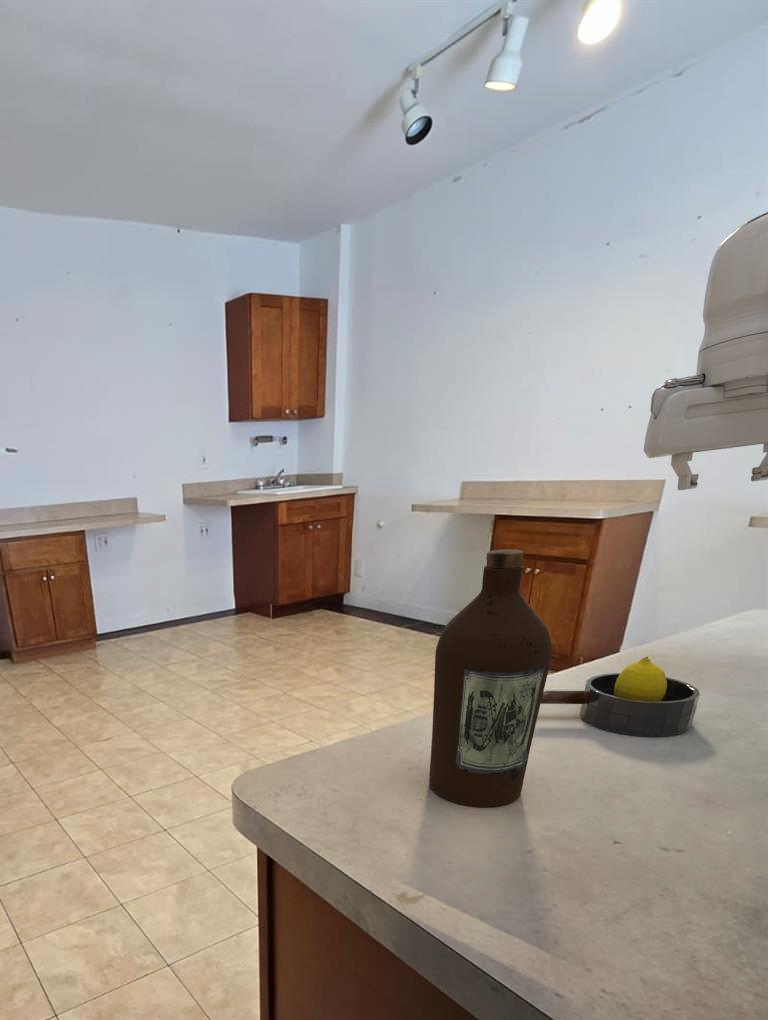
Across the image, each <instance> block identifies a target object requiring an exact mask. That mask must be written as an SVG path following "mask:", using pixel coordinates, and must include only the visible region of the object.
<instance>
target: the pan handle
mask: <svg viewBox="0 0 768 1020" xmlns="http://www.w3.org/2000/svg"><path fill="white" fill-rule="evenodd" d="M587 701H588V692H587V691H584V690H551V689H550V690H548V689H547V690H546V689H544V691H543V696H542V700H541V704H540V705H582V704H586V703H587Z"/></svg>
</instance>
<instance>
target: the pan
mask: <svg viewBox="0 0 768 1020" xmlns="http://www.w3.org/2000/svg"><path fill="white" fill-rule="evenodd" d="M620 673H621V672H611V673H602V674H598V675H595V676H591V677H590V678H588V679H586V681H585V686H584V690H583V691H587V692H588V701H587V703H586V704H580V705H581V706H580V712H579V716H580V718H581V719H582V720H583V721H584V722H585V723H587V724H589V725H590V726H593V727H595V728H598V729H599V730H603V731H607V732H610V733H614V734H620V735H627V736H631V737H632V736H634V737H644V738H664V737H665V738H666V737H674V736H679V735H682V734H685V733H686V732H688V731H689V730H690V729H691V726H692V724H693V721H694V718H695V713H696V710H697V708H698V703H699V700H700V697H701V693H700V690H699V688H697V687H696V686H694V685H692V684H691V683H688V682H686V681H682V680H679V679H675V678H671V677H667V676H666V681H667V688H666V693H665V695H664V697H663V699H662V700H661V701H642V700H632V699H626V698H621V697H616V696H615V695H614V686H615V683H616V681H617V678H618V677H619V675H620Z"/></svg>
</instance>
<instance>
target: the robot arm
mask: <svg viewBox="0 0 768 1020" xmlns="http://www.w3.org/2000/svg"><path fill="white" fill-rule="evenodd" d="M709 268H710V269H709V271H708V277H707V280H706V281H707V282H706V287H705V292H704V300H703V307H702V308H703V309H702V320H703V325H704V332H703V337H702V341H701V343H700V346H699V348H698V353H697V354H698V355H697V361H696V362H697V363H696V370H695V371H696V372H695V375H689V376H685V377H681V378H678V377H674V378H669V379H667V380H665V381H664V382H663V383H662V384H660V385H659V386H657V388H656V389H655V390H654V391H653V393H652V394H651V398H650V409H649V410H650V416H649V420H648V424H647V427H646V432H645V437H644V443H643V453H644V454H645V455H646V456H647V458H648V459H654V458H663V457H671V458H670V466H671V467H672V470H673V471H674V473H675V475H676V477H677V478H678V479H677V491H686V490H693V489H697V487H698V480H699V476H700V474H699V473H693V472H692V469H691V466H690V465H689V463H688V462H692V461H693V456H694V453H702V452H710V451H716V450H725V449H733V448H741V447H742V448H743V447H748V446H758V445H763V447H762V449H763V450H762V453H763V454H765V453H766V454H765V455H764V457H763V458H762V460H761V462H760V463H759V465H758V466H754V467H752V470H751V476H750V480H751V481H750V482H760V481H761V482H762V481H767V480H768V211H766V212H764V213H762V214H760V215H758V216H756V217H754V218H752V219H750V220H748V221H747V222H746V223H744V224H742V225H740V226H739V227H737V228H735V229H734V230H733V231H731V233H730V234H729V235H728V236H727V237H726V238H725V239H724V240H723V241H722V242H721V244H720V245H719V246H718V247H717V249H716V250H715V252H714V255H713V257H712V260H711V263H710V267H709Z"/></svg>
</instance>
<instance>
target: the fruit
mask: <svg viewBox="0 0 768 1020" xmlns="http://www.w3.org/2000/svg"><path fill="white" fill-rule="evenodd" d="M619 673H620V675H619V677H618V678H617V681H616V683H615V686H614V695H615V696H616V697H621V698H626V699H632V700H642V701H661V700H662V699H663V697H664V695H665V693H666V688H667V681H666V677H667V676H666V674H665V671H664V670H663V668H662V667H660V666H659V665H657V664H655V663H653V662H651V659H650V658H649V657H648V656H645V657H642V658H641V659H640V661H636V662H634V663H631V664H629V665H627V666H626V667H624V669H623V670H622V671H621V672H619Z"/></svg>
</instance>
